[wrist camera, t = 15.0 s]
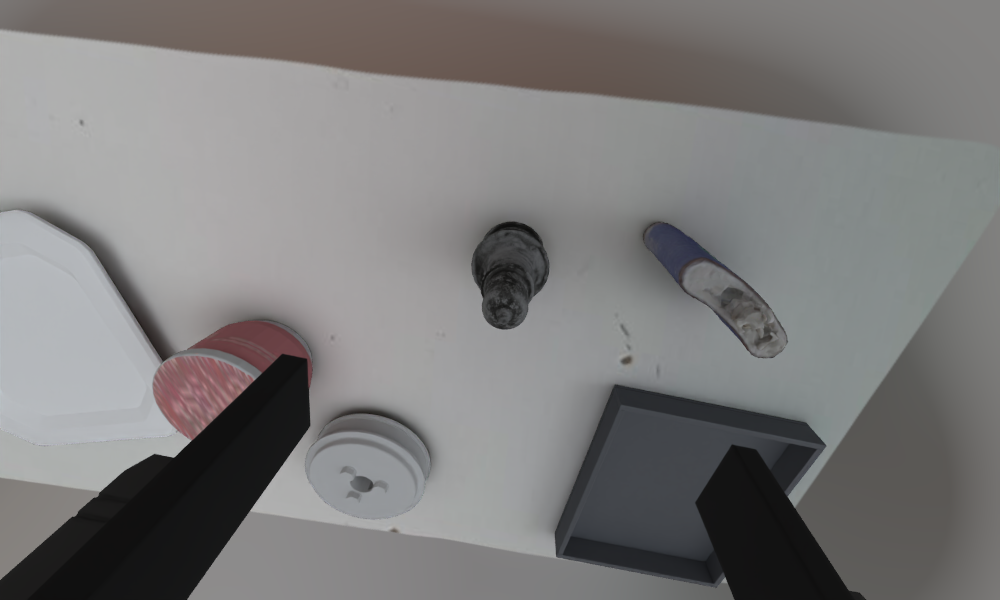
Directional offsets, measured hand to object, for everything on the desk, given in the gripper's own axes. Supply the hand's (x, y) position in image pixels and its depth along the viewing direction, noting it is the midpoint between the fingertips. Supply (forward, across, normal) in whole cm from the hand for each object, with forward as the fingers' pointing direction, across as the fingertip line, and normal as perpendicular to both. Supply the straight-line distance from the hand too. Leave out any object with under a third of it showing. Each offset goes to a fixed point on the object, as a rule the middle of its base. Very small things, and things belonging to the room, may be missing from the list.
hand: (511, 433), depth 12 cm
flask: (+22, +13, 0) cm, 26 cm away
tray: (+22, +21, -24) cm, 39 cm away
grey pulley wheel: (+22, -11, -28) cm, 37 cm away
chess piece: (+22, -1, -2) cm, 22 cm away
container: (+22, -22, -17) cm, 35 cm away
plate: (+21, -45, -20) cm, 54 cm away
